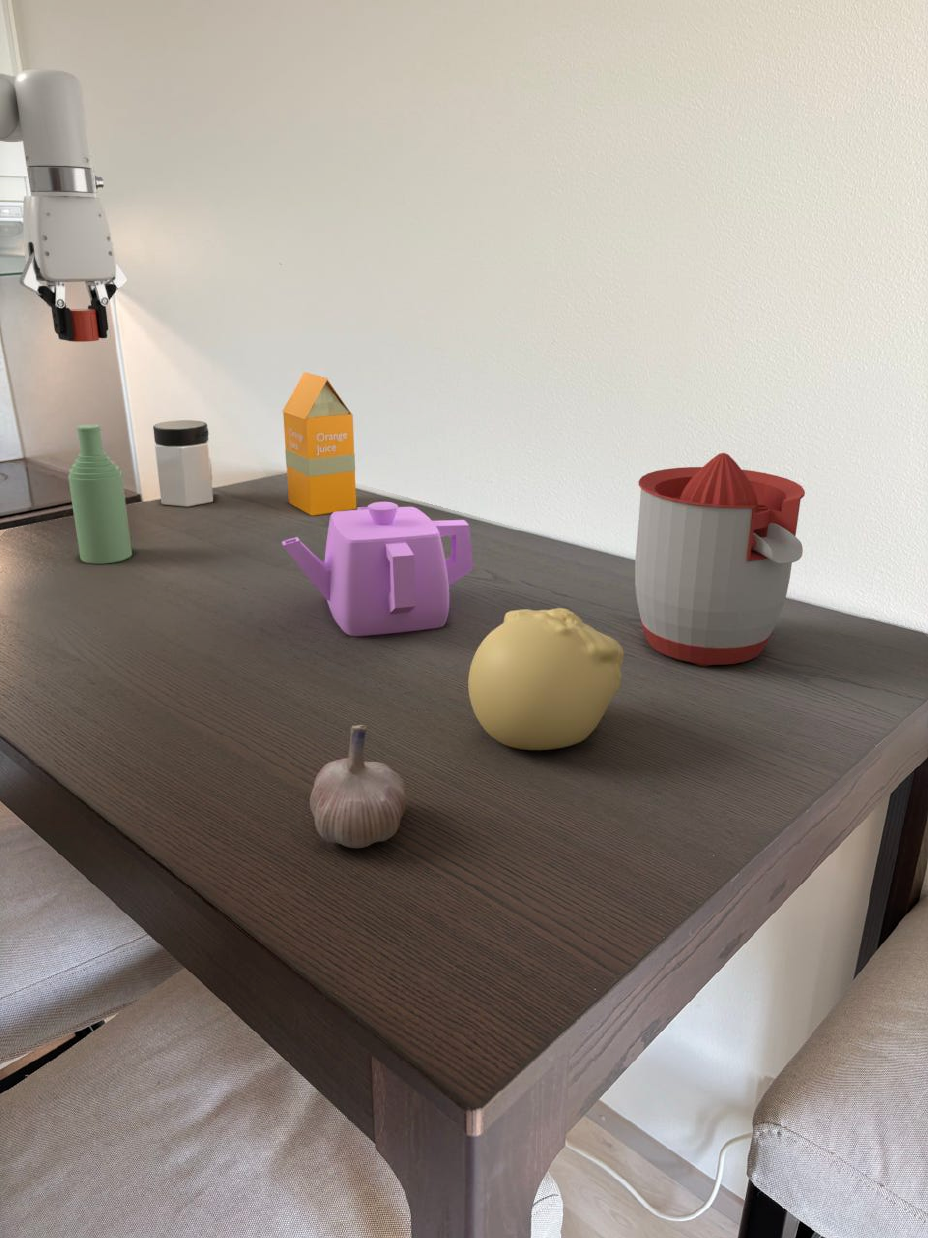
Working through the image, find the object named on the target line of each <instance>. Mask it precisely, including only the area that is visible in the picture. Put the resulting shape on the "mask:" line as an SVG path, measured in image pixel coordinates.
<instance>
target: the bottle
mask: <svg viewBox="0 0 928 1238" xmlns="http://www.w3.org/2000/svg"><path fill="white" fill-rule="evenodd" d="M76 430H77V435H78V441H79V449H80V453H79V454H77V456H78V458H76V459H74V460H75V461H74V463H73V464H72V465H71V468H70V469H69V470H68V475H67V479H68V485H69V491H70V493H69V494H70V498H71V499H70V500H71V505H72V512H73V519H74V526H75V531H76V539H77V545H78V551H79V556H80V557H79V559H80V561H81V562H84V563H87V564H95V565H97V564H98V565H99V564H100V565H101V564H102V565H103V564H104V565H105V564H113V563H118V562H122V561H124V560H125V561H126V560H127V559H129V558H131V556H132V555H133V549H132V542H131V535H130V534H131V533H130V527H129V520H128V519H129V518H128V512H127V511H128V510H127V503H126V496H125V495H126V494H125V488H124V481H123V480H124V479H123V473H122V471H121V470H120V466H119V465H117V464H116V462H115V461H114V460H112V459H111V457H110V456H107V453H106V451H104V448H103V441H102V436H101V435H102V433H101V430H102V429H101V427H100V425H99V424H95V423H94V424H93V423H92V424H91V423H90V424H80V425H78V426H77V427H76Z"/></svg>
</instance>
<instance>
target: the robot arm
mask: <svg viewBox="0 0 928 1238" xmlns="http://www.w3.org/2000/svg"><path fill="white" fill-rule="evenodd" d="M85 107H86V106H85V100H84V93H83V86H82V84H81V82H80V80H79V79H78V78H77V77H76V76H75V75H74V74H72V73H70V72H66V71H63V70H56V69H47V68H46V69H45V68H31V69H24V70H22V71H20V72H18V73H17V75H10V74H5V73H1V72H0V142H4V143H20V142H22V144H23V151H24V159H25V164H26V165H25V166H26V171H27V177H28V178H27V179H28V184H29V191H30V192H29V193H30V195H29V196H28V195H27V196H24V197H23V206H22V208H23V209H22V230H23V233H22V234H23V248H24V258H25V266H24V268H23V270H22V273H21V275H20V277H19V280H18V281H19V282H18V283H19V284H20V285H21V286H22V287H24V288H26V289H27V290H30V292H33V293H35V294H36V295H37V296H38V297H39V298H40V299H41V300H43V301H44V302H45V303H46V304H47V307H50V308H51V315H52V321H53V328H54V332H55V334H56V335H57V337H58V340H62V341H67V342H72V341H71V340H73V339H74V332H73V325H72V318H71V311H70V309H71V308H69V307H67V305H66V304H67V303H66V288H67V287H66V283H75V282H76V283H81V282H84V283H85V286H86V290H87V293H88V297H89V300H90V305H89V304H88V306H87V309H95V311H96V319H97V327H98V335H99V339H107V338H108V331H109V322H108V314H107V306H109V304H110V300H111V299H112V298H113V296H114V295H115V294H116V292H117V291H118V290H119V289H120V288H121V287H123V286H124V285H126V283H128V277H127V276H126V274H125V273H124V271H123V270H122V269H121V267H120V266H119V264H118V262H117V261H116V256H115V255H116V254H115V248H114V244H113V237H112V233H111V229H110V225H109V221H108V218H107V214H106V211H105V207H104V205H103V202H102V199H101V198H100V197H97V196H96V195H97V190H98V189H104V186H105V182H104V178H103V177H101V176H97V175H95V170H93V164H92V156H91V148H90V139H89V132H88V131H89V130H88V124H87V123H88V122H87V117H86V116H87V115H86V108H85ZM105 281H107V282H106V283H105ZM41 282H46V285H44V284H43V283H41Z"/></svg>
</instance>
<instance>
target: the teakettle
mask: <svg viewBox="0 0 928 1238" xmlns="http://www.w3.org/2000/svg"><path fill="white" fill-rule="evenodd" d="M328 522H329V523H328V528H327V534H326V535H327V536H326V543H325V550H324V551H325V553H324V560H323V561H322V560H321V559H320V558H319V557H318V556H317V555H315V553H314V552H312V551H311V549H310V548H308V547H307V546H306V545H305V544H304V543H303V542H302V541H301V540H300V539H299V537H298V536H295V537H292V538H289V539H285V540H283V541H281V544H282V547H283V549H284V550H285V551H286V553H288V554H289V556H290V557H291V558H292V559H293V561H294V562H295V563H296V564H297V566H298V567H299V568H300V569H301V571H302V572H303V573H304V574H305V575H306V577H307V579H309V581H310V582H311V583H312V584H313V585H314V587H315V588H316V589H317V590H318V592H319V593H320V594H321V595H322V596H323V598H324V599H325V600H326V602H327V606H328V608H329V611H330V614H331V615H332V618H333V620H334V621H335V622H336V624H337V625H338V626H339V628H340V629H341V631H343V632H344V633H345V634H346V635H348V636H350V637H368V636H379V635H391V634H400V633H408V632H418V631H426V630H432V629H439V628H440V629H441V628H443V627H444V626H445V625H446V622H447V619H448V615H449V611H450V587H449V586H451V585H452V584H453V583H455V582H457V581H459V580H460V579H462V578H463V577H465V576H466V575H469V574H470V573H471V572H473V571H474V562H473V552H472V539H471V529H470V524H469V523H468V522H467V521H466V520H465V519H453V520H452V519H448V520H447V519H444V520H432V519H431V518H430V517H429V516H428V515H426V513H424V512H423V511H422V510H421V509H419V508H417V507H415V506H399V505H398V504H397V503H394V502H391V501H376V502H372V503H370V504H368V505H367V506H360V507H359V506H356V509H351V510H345V511H338V512H332V513H330V517H329V521H328ZM443 537H451V544H450V545H451V548H450V550H451V555H450V557H448V558H446V557H445V551H444V548H443V547H444V546H443V542H442V538H443Z"/></svg>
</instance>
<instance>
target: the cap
mask: <svg viewBox="0 0 928 1238" xmlns="http://www.w3.org/2000/svg"><path fill="white" fill-rule="evenodd" d="M69 309H70V311H71V318H72V325H73V332H74V339H73V340H71V341H70V342H72V343H73V342H74V343H77V342H80V343H81V342H84V343H85V342H97V341H99V340H100V338H99V335H98V327H97V319H96V311H95V309H88V308H69Z"/></svg>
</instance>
